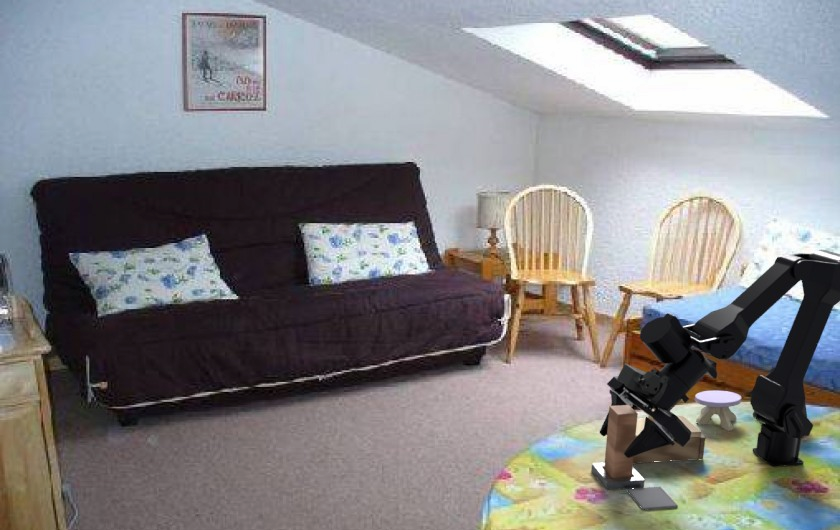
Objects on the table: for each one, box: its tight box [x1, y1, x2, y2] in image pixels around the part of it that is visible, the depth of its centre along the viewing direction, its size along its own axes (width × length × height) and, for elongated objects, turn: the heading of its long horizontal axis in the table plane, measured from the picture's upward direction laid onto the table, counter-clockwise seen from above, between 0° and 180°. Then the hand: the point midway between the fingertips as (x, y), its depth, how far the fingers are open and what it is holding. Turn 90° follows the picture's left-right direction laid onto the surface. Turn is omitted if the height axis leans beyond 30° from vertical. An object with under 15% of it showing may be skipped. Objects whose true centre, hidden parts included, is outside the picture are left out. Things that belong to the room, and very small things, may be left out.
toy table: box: [694, 390, 742, 432], centre depth 159 cm, size 10×9×6 cm
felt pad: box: [626, 486, 679, 511], centre depth 129 cm, size 6×6×1 cm
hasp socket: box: [591, 462, 646, 491], centre depth 135 cm, size 7×7×2 cm
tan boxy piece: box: [633, 433, 706, 465], centre depth 145 cm, size 14×7×4 cm, turn 100°
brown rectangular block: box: [604, 405, 639, 478], centre depth 134 cm, size 4×4×13 cm
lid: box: [635, 409, 702, 438], centre depth 144 cm, size 13×7×3 cm, turn 100°
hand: (613, 445), depth 133 cm, fingers open, 8 cm apart
